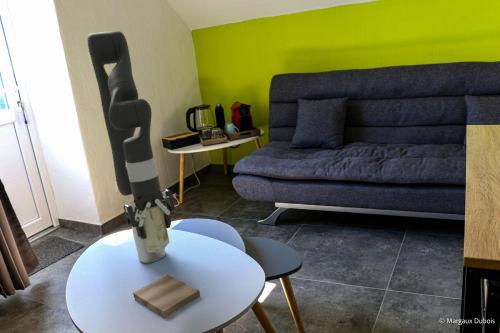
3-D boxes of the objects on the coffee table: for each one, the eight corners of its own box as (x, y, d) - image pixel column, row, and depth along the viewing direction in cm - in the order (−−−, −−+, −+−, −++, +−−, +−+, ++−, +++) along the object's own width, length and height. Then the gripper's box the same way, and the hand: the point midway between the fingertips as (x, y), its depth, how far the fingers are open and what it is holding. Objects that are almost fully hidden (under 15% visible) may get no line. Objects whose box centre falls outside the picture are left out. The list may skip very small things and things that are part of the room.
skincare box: (161, 252, 116) (152, 210, 113) (147, 253, 117) (137, 211, 114) (170, 241, 122) (162, 201, 119) (156, 242, 123) (147, 202, 120)
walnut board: (134, 298, 125) (132, 292, 124) (168, 280, 133) (167, 274, 132) (164, 318, 114) (163, 311, 113) (200, 296, 121) (199, 290, 121)
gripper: (158, 167, 121) (169, 220, 126) (112, 182, 112) (125, 240, 116) (173, 169, 116) (184, 225, 120) (126, 186, 107) (140, 246, 111)
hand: (155, 232), depth 118 cm, fingers closed on skincare box, 7 cm apart
